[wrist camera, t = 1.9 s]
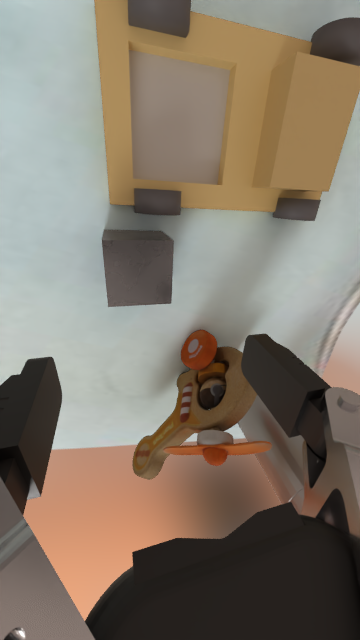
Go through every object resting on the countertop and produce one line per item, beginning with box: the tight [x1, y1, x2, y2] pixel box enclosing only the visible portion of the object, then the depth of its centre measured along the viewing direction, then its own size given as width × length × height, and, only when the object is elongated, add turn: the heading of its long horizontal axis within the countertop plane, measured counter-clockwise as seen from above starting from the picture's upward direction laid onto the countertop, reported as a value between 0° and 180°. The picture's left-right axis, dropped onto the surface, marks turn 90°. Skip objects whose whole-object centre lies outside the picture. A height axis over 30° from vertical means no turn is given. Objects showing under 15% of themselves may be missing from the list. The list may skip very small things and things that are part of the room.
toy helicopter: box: [133, 330, 272, 480], centre depth 28 cm, size 8×21×14 cm, turn 139°
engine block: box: [102, 230, 174, 307], centre depth 22 cm, size 6×6×6 cm
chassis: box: [94, 0, 360, 221], centre depth 19 cm, size 21×13×4 cm, turn 87°
